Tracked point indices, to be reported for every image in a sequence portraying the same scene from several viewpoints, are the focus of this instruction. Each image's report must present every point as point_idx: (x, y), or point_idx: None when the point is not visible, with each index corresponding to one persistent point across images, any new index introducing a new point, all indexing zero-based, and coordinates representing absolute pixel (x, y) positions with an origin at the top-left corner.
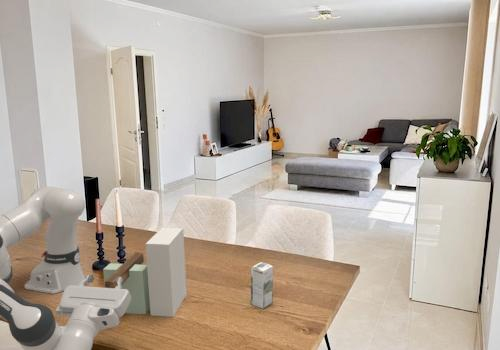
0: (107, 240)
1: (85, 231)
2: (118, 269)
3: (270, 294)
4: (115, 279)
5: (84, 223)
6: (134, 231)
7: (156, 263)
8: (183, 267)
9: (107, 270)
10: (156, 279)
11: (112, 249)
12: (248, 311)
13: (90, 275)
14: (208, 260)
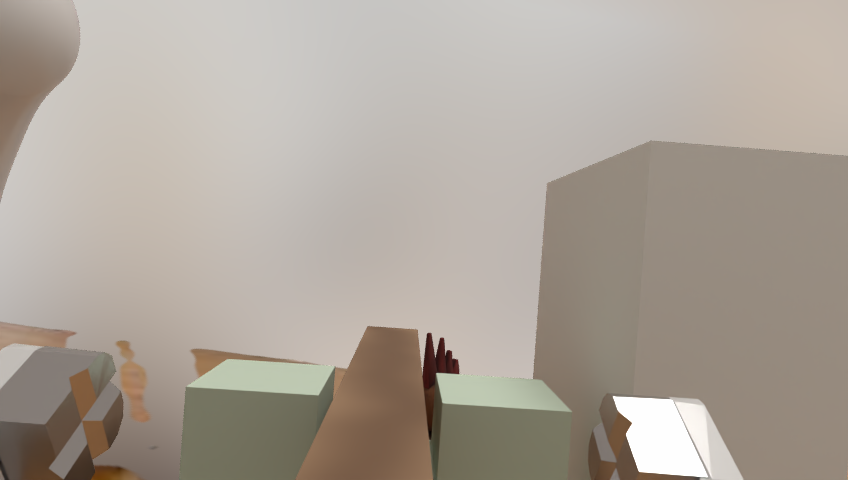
0: (120, 369)
1: (41, 346)
2: (348, 388)
3: None
4: (629, 440)
5: (41, 331)
6: (211, 354)
7: (728, 336)
8: None
9: (228, 399)
10: None
11: (142, 393)
12: None
13: (65, 353)
14: None
